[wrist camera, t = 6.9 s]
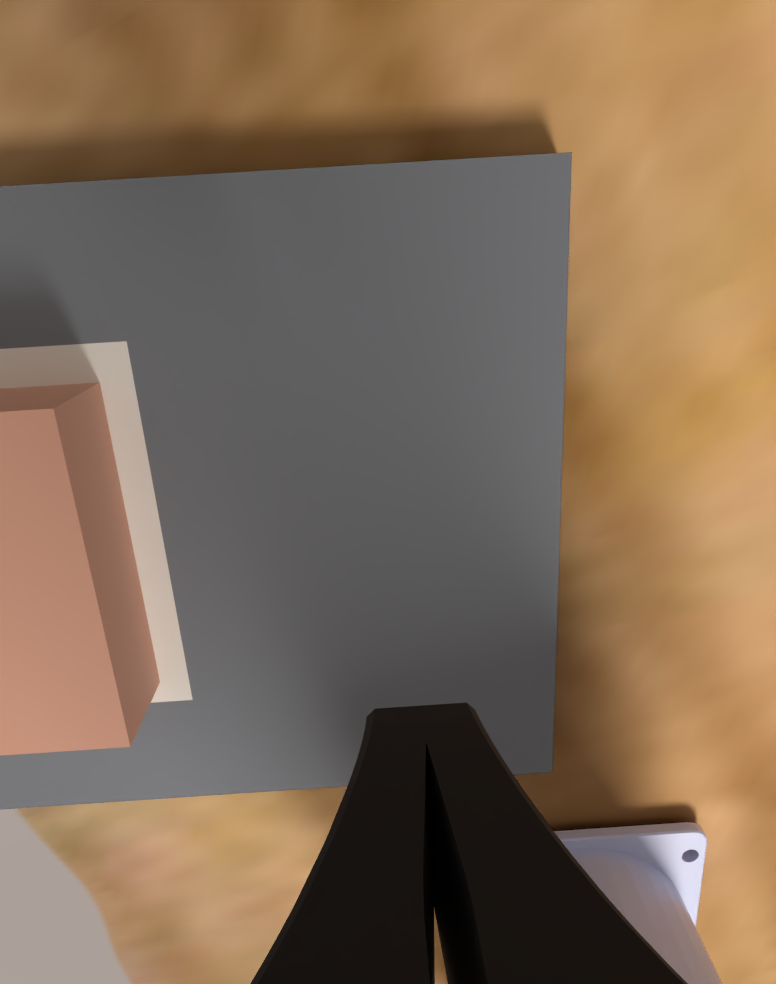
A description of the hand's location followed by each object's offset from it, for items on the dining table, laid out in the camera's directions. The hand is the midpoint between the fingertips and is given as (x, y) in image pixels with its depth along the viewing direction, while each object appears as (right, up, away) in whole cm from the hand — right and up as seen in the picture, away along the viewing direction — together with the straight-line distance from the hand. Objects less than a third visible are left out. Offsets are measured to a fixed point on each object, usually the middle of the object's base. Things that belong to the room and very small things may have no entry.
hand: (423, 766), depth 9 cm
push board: (-6, +3, +9) cm, 11 cm away
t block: (-11, +2, +8) cm, 13 cm away
